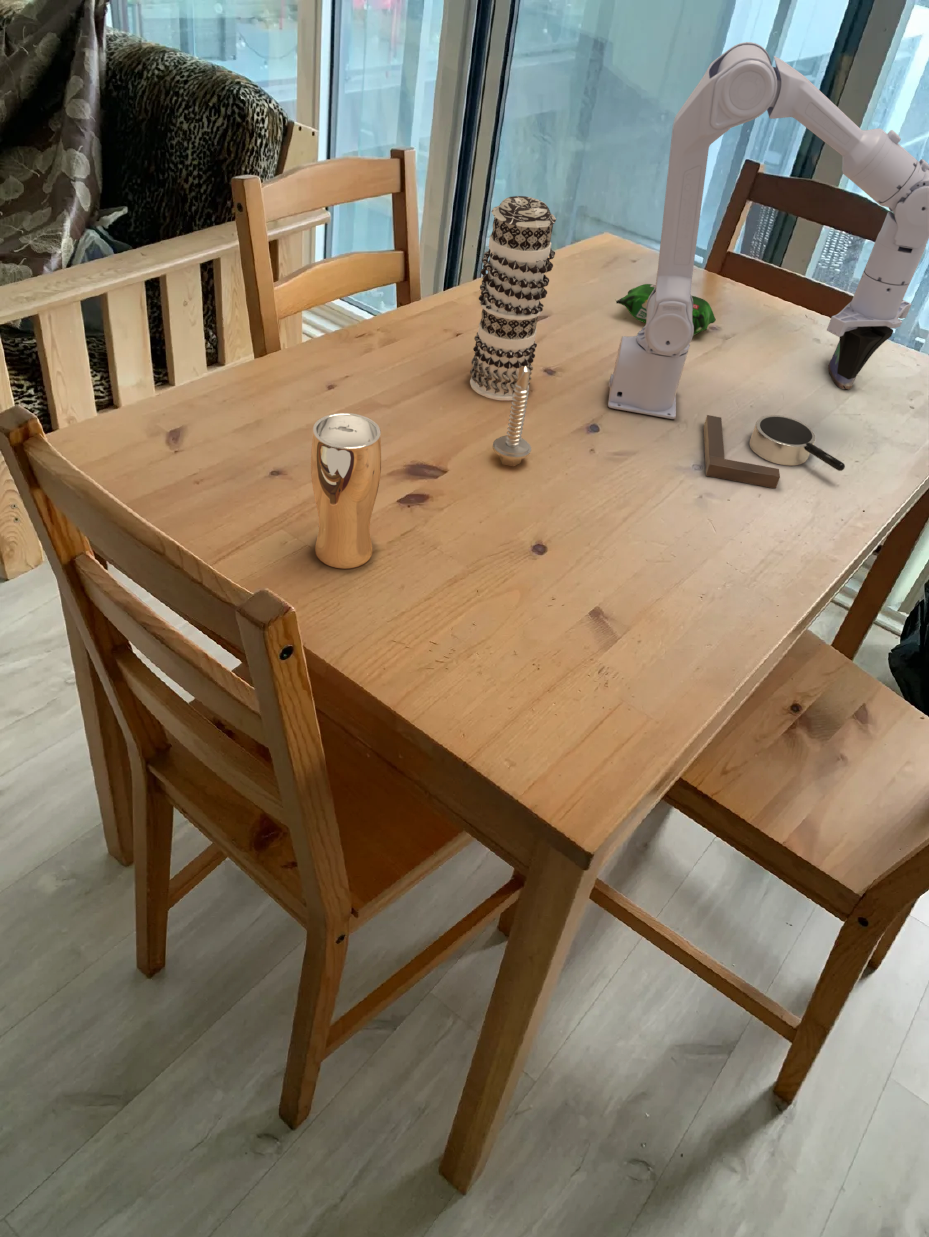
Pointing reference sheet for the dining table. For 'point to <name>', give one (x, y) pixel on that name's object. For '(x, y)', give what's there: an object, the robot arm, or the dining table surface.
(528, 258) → the decorative candle
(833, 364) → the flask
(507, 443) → the screw
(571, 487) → the dining table surface
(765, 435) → the steel pan
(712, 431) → the corner stop
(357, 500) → the beer glass
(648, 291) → the snack package
